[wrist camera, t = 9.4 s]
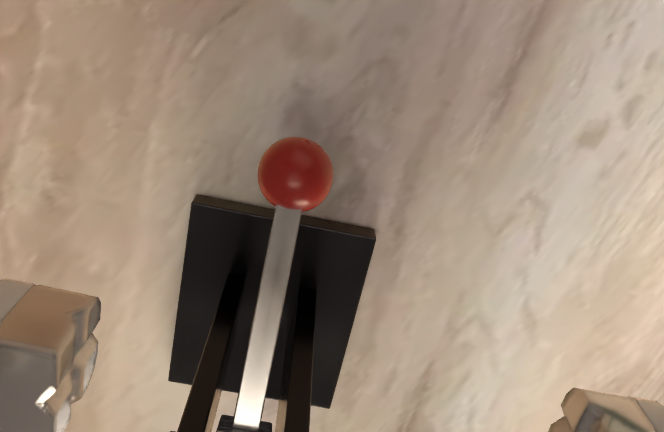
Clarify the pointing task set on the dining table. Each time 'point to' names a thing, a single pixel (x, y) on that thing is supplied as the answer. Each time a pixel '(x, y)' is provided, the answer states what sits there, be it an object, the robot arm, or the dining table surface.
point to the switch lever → (277, 264)
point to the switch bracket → (240, 302)
